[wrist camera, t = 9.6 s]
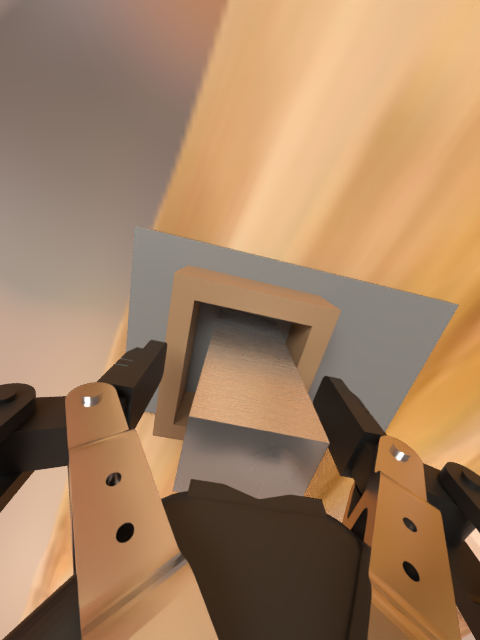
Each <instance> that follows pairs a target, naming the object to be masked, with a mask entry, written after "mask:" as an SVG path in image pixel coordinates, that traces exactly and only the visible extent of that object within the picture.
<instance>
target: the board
mask: <svg viewBox="0 0 480 640" xmlns="http://www.w3.org/2000/svg"><path fill="white" fill-rule="evenodd" d="M458 306H459V305H457V304H454V303H451V302H447V301H443V300H439V299H435V298H430V297H426V296H422V295H418V294H414V293H410V292H406V291H402V290H398V289H394V288H389V287H385V286H381V285H377V284H373V283H369V282H365V281H361V280H357V279H353V278H348V277H344V276H340V275H336V274H332V273H328V272H324V271H320V270H316V269H311V268H307V267H303V266H299V265H295V264H291V263H287V262H283V261H279V260H275V259H270V258H266V257H262V256H258V255H254V254H250V253H246V252H242V251H238V250H234V249H229V248H225V247H221V246H217V245H213V244H209V243H205V242H201V241H197V240H193V239H188V238H184V237H180V236H176V235H172V234H168V233H164V232H160V231H156V230H151V229H147V228H143V227H138V226H135V231H134V247H133V260H132V275H131V289H130V303H129V318H128V332H127V347H126V352H127V351H130V350H132V349H134V348H136V347H139V348H144V347H145V346H146V344H147V343H148V342H149V341H150V340H156V341H161V342H166V343H167V353H166V360H165V367H164V373H163V377H162V380H161V382H160V384H159V386H158V388H157V390H156V391H155V393H154V395H153V397H152V399H151V400H150V402H149V404H148V406H147V408H146V409H145V411H144V412H150V413H155V414H156V415H155V422H154V430H153V435H154V436H160V437H166V438H172V439H178V440H184V437H185V432H186V427H187V423H188V418H189V414H190V411H191V407H192V404H193V400H194V397H195V393H196V390H197V386H198V383H199V379H200V376H201V372H202V369H203V365H204V362H205V358H206V355H207V351H208V348H209V344H210V341H211V337H212V334H213V330H214V327H215V323H216V320H217V316H218V313H219V309H220V308H221V309H225V310H230V311H234V312H238V313H242V314H247V315H251V316H255V317H259V318H264V319H268V320H272V321H276V324H277V326H278V328H279V330H280V332H281V335H282V337H283V339H284V341H285V344H286V346H287V348H288V350H289V353H290V355H291V357H292V359H293V362H294V364H295V366H296V368H297V371H298V373H299V375H300V377H301V379H302V382H303V384H304V386H305V388H306V391H307V393H308V395H309V397H310V400H311V402H312V404H313V400H314V398H315V395H316V393H317V390H318V388H319V386H320V383H321V381H322V379H323V377H324V376H330V377H335V378H340V379H342V381H343V382H344V383H345V385H346V386H347V387H348V389H349V390H350V391H351V392H352V393H354V394H355V395H356V396H357V397H358V398H359V399H360V400H361V401H362V403H363V404H364V405H365V408H367V409H368V411H369V412H370V414H371V415H372V416H373V417H374V419H375V420H376V421H377V423H378V424H379V425H380V427H381V428H382V429H383V430H384V432H385V431H386V429H387V427H388V426H389V424H390V422H391V421H392V419H393V417H394V415H395V414H396V412H397V410H398V409H399V407H400V405H401V403H402V402H403V400H404V398H405V397H406V395H407V393H408V391H409V390H410V388H411V386H412V385H413V383H414V381H415V379H416V378H417V376H418V374H419V373H420V371H421V369H422V367H423V366H424V364H425V362H426V361H427V359H428V357H429V355H430V354H431V352H432V350H433V349H434V347H435V345H436V343H437V342H438V340H439V338H440V337H441V335H442V333H443V331H444V330H445V328H446V326H447V325H448V323H449V321H450V319H451V318H452V316H453V314H454V313H455V311H456V309H457V307H458Z"/></svg>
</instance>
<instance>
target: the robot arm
mask: <svg viewBox="0 0 480 640" xmlns="http://www.w3.org/2000/svg"><path fill="white" fill-rule="evenodd" d="M166 353H167V343H166V342H161V341H156V340H150V341H149V342H148V343H147V344H146V346H145V347H144V348H139V347H136V348H134V349H132V350H130V351H127V352H126V353H125V354H124V355H123V356H122V357H121V359H119V360H118V361H117V362H116V364H114V365H113V366H112V367H111V368H110V369H109V370H108V371H107V372H106V373H105V374H104V375H103V376H102V377H101V378H100V379H99V380H98V381H97V382H94V383H87V384H84V385H81V386H78V387H76V388H74V389H73V390H72V391H70V392H69V393H68V395H67V396H63V397H40V398H36V391H35V389H34V388H33V387H32V386H30V385H27V384H21V383H12V384H4V385H0V512H1V511H2V510H3V509H4V507H5V506H6V505H7V504H8V502H9V501H10V500H11V499H12V498H13V496H14V495H15V494H16V493H17V491H18V490H19V489H20V488H21V486H22V485H23V484H24V483H25V482H26V480H27V479H28V478H29V477H30V475H31V474H32V473H33V472H34V471H35V470H40V469H47V468H54V467H61V466H68V483H69V500H70V518H71V538H72V558H73V575H72V576H71V577H70V578H69V579H68V580H67V581H66V582H65V583H64V584H63V585H62V586H60V587H59V588H58V589H57V590H56V591H55V592H54V593H53V594H52V595H51V596H49V597H48V598H47V599H46V600H45V601H44V602H43V603H42V604H41V605H40V606H39V607H37V608H36V609H35V610H34V611H33V612H32V613H31V614H30V615H29V616H28V617H26V618H25V619H24V620H23V621H22V622H21V623H20V624H19V625H18V626H17V627H16V628H14V629H13V630H12V631H11V632H10V633H9V634H8V635H7V636H6V637H5V638H4V639H3V640H461V635H460V628H459V622H458V616H457V610H456V605H457V607H458V609H459V611H460V612H461V614H462V616H463V618H464V619H465V621H466V623H467V625H468V627H469V628H470V630H471V632H472V634H473V635H474V637H475V639H476V640H480V561H479V560H478V558H477V557H476V556H475V554H474V553H473V551H472V550H471V549H470V547H469V546H468V544H467V543H466V542H465V539H466V538H467V537H468V536H469V535H470V534H471V533H472V532H473V531H474V530H475V528H476V529H477V530H478V532H479V533H480V476H479V475H477V474H476V473H474V472H473V471H471V470H470V469H468V468H466V467H464V466H462V465H460V464H457V463H454V462H448V463H447V464H446V465H445V466H444V467H443V469H442V470H441V471H440V470H438V469H435V468H433V467H431V466H428V465H426V464H424V463H423V462H422V460H421V458H420V457H419V456H418V454H417V453H416V452H415V451H414V450H413V449H412V448H410V447H409V446H408V445H407V444H405V443H404V442H402V441H400V440H398V439H396V438H394V437H391V436H387V434H386V433H385V432H384V430H383V429H382V428H381V427H380V425H379V424H378V423H377V421H376V420H375V419H374V417H373V416H372V415H371V414H370V412H369V411H368V409H367V408H365V405H364V404H363V403H362V401H361V400H360V399H359V398H358V397H357V396H356V395H355V394H354V393H352V392H351V391H350V390H349V389H348V387H347V386H346V385H345V383H344V382H343V381H342V379H340V378H335V377H330V376H324V377H323V379H322V381H321V383H320V386H319V388H318V390H317V393H316V395H315V398H314V400H313V406H314V409H315V411H316V413H317V415H318V418H319V420H320V422H321V424H322V426H323V429H324V431H325V433H326V435H327V438H328V440H329V442H330V444H329V446H328V448H329V451H330V453H331V455H332V458H333V460H334V462H335V464H336V467H337V469H338V471H339V474H340V476H344V477H350V478H353V479H354V481H355V482H354V484H353V485H352V487H351V491H350V494H349V498H348V502H347V506H346V510H345V514H344V518H343V522H342V523H341V522H339V521H338V520H337V519H335V518H333V517H332V516H330V515H328V514H326V512H325V509H324V506H323V503H322V499H316V498H310V497H304V496H297V495H291V494H290V495H284V496H277V497H270V498H264V499H257V498H254V497H252V496H250V495H248V494H245V493H243V492H241V491H239V490H237V489H234V488H232V487H230V486H228V485H225V484H221V483H215V482H209V481H202V480H196V479H191V480H190V484H189V489H188V491H184V492H179V493H176V494H172V495H169V496H167V497H165V498H162V499H160V496H159V493H158V490H157V487H156V485H155V482H154V479H153V476H152V473H151V471H150V468H149V465H148V462H147V459H146V457H145V454H144V451H143V448H142V445H141V443H140V440H139V437H138V434H137V432H136V430H135V428H136V426H137V424H138V422H139V420H140V419H141V417H142V415H143V413H144V411H145V409H146V408H147V406H148V404H149V402H150V400H151V399H152V397H153V395H154V393H155V391H156V390H157V388H158V386H159V384H160V382H161V380H162V377H163V373H164V367H165V360H166Z"/></svg>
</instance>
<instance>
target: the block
mask: <svg viewBox="0 0 480 640" xmlns="http://www.w3.org/2000/svg"><path fill="white" fill-rule="evenodd" d="M329 444H330V442H329V440H328V438H327V435H326V433H325V431H324V429H323V426H322V424H321V422H320V420H319V418H318V415H317V413H316V411H315V409H314V406H313V404H312V402H311V400H310V397H309V395H308V393H307V391H306V388H305V386H304V384H303V382H302V379H301V377H300V375H299V373H298V371H297V368H296V366H295V364H294V362H293V359H292V357H291V355H290V353H289V350H288V348H287V346H286V344H285V341H284V339H283V337H282V335H281V332H280V330H279V328H278V326H277V324H276V321H272V320H268V319H264V318H259V317H255V316H251V315H247V314H242V313H238V312H234V311H230V310H225V309H221V308H220V309H219V313H218V316H217V320H216V323H215V327H214V330H213V334H212V337H211V341H210V344H209V348H208V351H207V355H206V358H205V362H204V365H203V369H202V372H201V376H200V379H199V383H198V386H197V390H196V393H195V397H194V400H193V404H192V407H191V411H190V414H189V418H188V423H187V427H186V432H185V437H184V441H183V446H182V451H181V455H180V460H179V464H178V469H177V474H176V478H175V483H174V488H173V491H175V492H184V491H188V489H189V484H190V480H191V479H196V480H202V481H209V482H215V483H221V484H225V485H228V486H230V487H232V488H234V489H237V490H239V491H241V492H243V493H245V494H248V495H250V496H252V497H254V498H257V499H264V498H270V497H277V496H284V495H290V494H291V495H297V496H303V495H304V493H305V491H306V489H307V487H308V485H309V483H310V481H311V479H312V478H313V476H314V474H315V472H316V470H317V468H318V466H319V464H320V462H321V460H322V458H323V456H324V454H325V452H326V450H327V448H328V446H329Z"/></svg>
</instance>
